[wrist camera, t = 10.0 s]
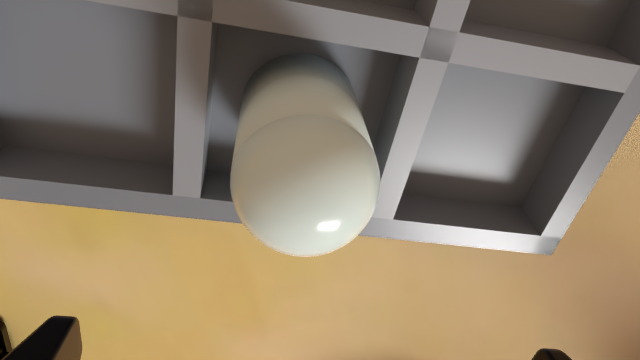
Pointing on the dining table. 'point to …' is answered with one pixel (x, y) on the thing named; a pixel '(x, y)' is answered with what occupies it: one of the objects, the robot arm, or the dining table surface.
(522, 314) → the dining table surface
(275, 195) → the glossy white capsule
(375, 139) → the tray
